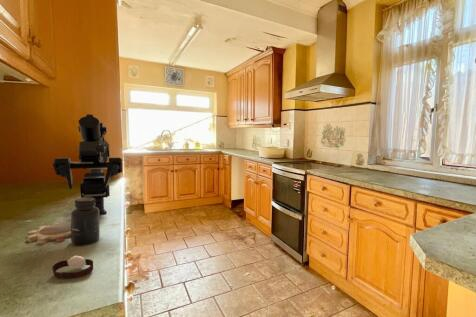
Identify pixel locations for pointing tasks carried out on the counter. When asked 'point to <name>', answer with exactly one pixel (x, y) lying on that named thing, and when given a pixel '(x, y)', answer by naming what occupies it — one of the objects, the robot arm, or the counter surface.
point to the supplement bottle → (85, 222)
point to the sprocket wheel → (50, 232)
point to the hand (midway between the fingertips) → (88, 187)
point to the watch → (74, 263)
